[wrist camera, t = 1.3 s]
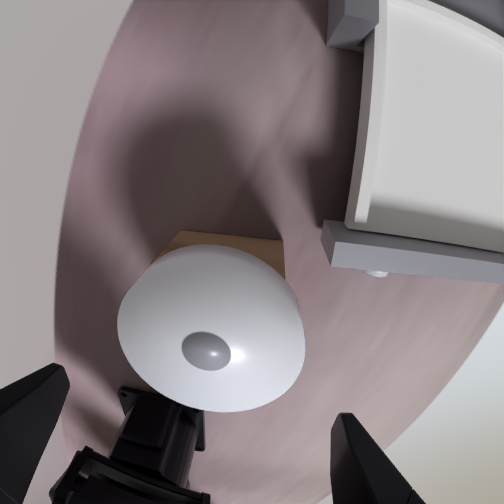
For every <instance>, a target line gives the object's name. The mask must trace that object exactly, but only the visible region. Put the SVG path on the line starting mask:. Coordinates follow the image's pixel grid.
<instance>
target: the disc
mask: <svg viewBox="0 0 504 504" xmlns="http://www.w3.org/2000/svg"><path fill="white" fill-rule="evenodd" d="M117 330H118V337H119V341H120V345H121V347H122V350H123V352H124V354H125V356H126V358H127V360H128V361H129V363H130V364H131V366H132V367H133V369H134V370H135V371H136V372H137V373H138V375H139V376H140V377H141V378H142V379H143V380H144V381H145V382H147V383H148V384H149V385H150V386H151V387H153V388H154V389H155V390H157V391H158V392H160V393H161V394H163V395H164V396H166V397H168V398H170V399H172V400H174V401H176V402H178V403H181V404H183V405H186V406H189V407H193V408H196V409H201V410H206V411H213V412H238V411H245V410H250V409H253V408H257V407H260V406H262V405H265V404H267V403H269V402H271V401H273V400H275V399H276V398H278V397H279V396H281V395H282V394H283V393H285V392H286V391H287V390H288V389H289V388H290V387H291V386H292V384H293V383H294V382H295V380H296V379H297V377H298V375H299V374H300V372H301V369H302V366H303V363H304V358H305V338H304V329H303V320H302V314H301V309H300V306H299V303H298V300H297V298H296V296H295V294H294V292H293V290H292V289H291V287H290V286H289V285H288V283H287V282H286V281H285V279H284V278H283V277H282V276H281V275H280V274H279V273H278V272H277V271H276V270H275V269H273V268H272V267H271V266H269V265H268V264H267V263H265V262H264V261H262V260H260V259H259V258H257V257H255V256H253V255H251V254H249V253H246V252H244V251H241V250H238V249H234V248H231V247H226V246H220V245H207V244H203V245H191V246H187V247H182V248H179V249H176V250H173V251H171V252H169V253H167V254H165V255H163V256H161V257H160V258H158V259H157V260H156V261H155V262H153V263H152V264H151V265H150V266H149V267H148V268H147V269H146V270H145V272H144V273H143V274H142V275H141V276H140V277H139V279H138V280H137V281H136V282H135V283H134V284H133V286H132V287H131V288H130V289H129V290H128V292H127V293H126V295H125V297H124V298H123V300H122V303H121V305H120V308H119V312H118V317H117Z"/></svg>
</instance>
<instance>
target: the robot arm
mask: <svg viewBox="0 0 504 504" xmlns="http://www.w3.org/2000/svg"><path fill="white" fill-rule="evenodd" d="M69 388H70V382H69V379H68V377H67V374H66V371H65V369H64V367H63V366H62V365H59V364H56V363H52V364H49V365H47V366H45V367H44V368H42V369H39V370H37V371H36V372H34V373H32V374H30V375H28V376H26V377H24V378H22V379H20V380H18V381H16V382H14V383H12V384H10V385H8V386H6V387H4V388H2V389H0V504H23V501H24V498H25V496H26V493H27V490H28V488H29V485H30V483H31V480H32V478H33V475H34V473H35V471H36V468H37V466H38V463H39V461H40V459H41V456H42V454H43V452H44V450H45V447H46V445H47V443H48V441H49V439H50V436H51V434H52V432H53V430H54V428H55V426H56V423H57V421H58V418H59V416H60V413H61V410H62V407H63V404H64V402H65V399H66V396H67V393H68V391H69ZM118 395H119V399H120V402H121V405H122V408H123V411H124V414H125V419H124V421H123V423H122V425H121V427H120V429H119V432H118V434H117V436H116V438H115V440H114V443H113V445H112V447H111V449H110V451H109V454H108V456H107V457H105V456H103V455H101V454H99V453H97V452H95V451H93V449H92V448H90V447H88V446H85V447H84V449H83V451H77V452H76V454H75V456H74V458H73V460H72V462H71V463H70V465H69V467H68V468H67V470H66V471H65V472H64V473H63V475H62V476H61V477H60V478H59V480H58V481H57V482H56V483H55V484H54V486H53V487H52V488H51V489H50V491H49V497H50V499H51V501H52V504H210V494H207V493H203V492H202V493H199V492H196V491H192V490H189V489H186V488H185V487H186V483H187V479H188V475H189V471H190V467H191V463H192V459H193V454H194V450H195V451H204V450H205V446H206V445H205V422H204V410H201V409H196V408H193V407H189V406H186V405H183V404H181V403H178V402H176V401H174V400H172V399H170V398H168V397H166V396H161V395H157V394H152V393H148V392H144V391H139V390H135V389H131V388H128V387H123V386H122V387H120V388H119V390H118ZM330 477H331V487H332V496H333V504H426V503H425V502H424V501H423V500H422V499H421V498H420V496H419V495H418V494H417V493H416V491H415V490H414V489H412V487H411V486H410V484H409V483H408V482H407V481H406V479H405V478H404V477H403V476H402V475H401V473H400V472H399V471H398V470H397V468H396V467H395V466H394V465H393V463H392V462H391V461H390V460H389V458H388V457H387V456H386V455H385V453H384V452H383V451H382V450H381V448H380V447H379V446H378V445H377V443H376V442H375V441H374V440H373V438H372V437H371V436H370V435H369V433H368V432H367V431H366V430H365V428H364V427H363V426H362V425H361V423H360V422H359V421H358V420H357V418H356V417H355V416H354V415H353V414H352V413H339V414H338V416H337V418H336V420H335V422H334V424H333V426H332V429H331V459H330Z"/></svg>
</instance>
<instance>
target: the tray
mask: <svg viewBox="0 0 504 504" xmlns="http://www.w3.org/2000/svg"><path fill="white" fill-rule="evenodd" d="M321 242H322V245H323V247H324V250H325V253H326V255H327V258H328V260H329V263H330V266H331V267H341V268H350V269H360V270H363V271H364V272H365V273H367V274H369V275H372V276H376V277H385V276H387V275H388V272H389V273H399V274H409V275H418V276H428V277H438V278H448V279H459V280H469V281H479V282H489V283H500V284H504V38H503V37H501V36H500V35H498V34H496V33H494V32H493V31H491V30H489V29H487V28H486V27H484V26H482V25H480V24H478V23H476V22H474V21H472V20H471V19H469V18H467V17H465V16H462V15H460V14H458V13H456V12H454V11H452V10H450V9H447V8H445V7H443V6H440V5H438V4H436V3H433V2H431V1H428V0H379V23H378V24H377V25H376V26H375V27H374V28H373V29H372V30H371V31H370V32H369V33H368V34H367V35H366V36H365V44H364V64H363V79H362V92H361V103H360V114H359V124H358V133H357V141H356V149H355V157H354V164H353V172H352V179H351V185H350V192H349V198H348V204H347V210H346V216H345V222H342V221H334V220H327V219H324V222H323V228H322V234H321Z"/></svg>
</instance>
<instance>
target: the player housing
mask: <svg viewBox="0 0 504 504" xmlns="http://www.w3.org/2000/svg"><path fill="white" fill-rule="evenodd" d="M428 1H431V2H433V3H436V4H438V5H440V6H443V7H445V8H447V9H450V10H452V11H454V12H456V13H458V14H460V15H462V16H465V17H467V18H469V19H471V20H472V21H474V22H476V23H478V24H480V25H482V26H484V27H486V28H487V29H489V30H491V31H493V32H494V33H496V34H498V35H500V36H501V37H503V38H504V0H428ZM378 23H379V0H328V21H327V38H326V46H331V47H336V48H342V49H347V50H352V51H356V52H361V53H364V44H365V36H366V35H367V34H368V33H369V32H370V31H371V30H372V29H373V28H374V27H375V26H376V25H377V24H378Z"/></svg>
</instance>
